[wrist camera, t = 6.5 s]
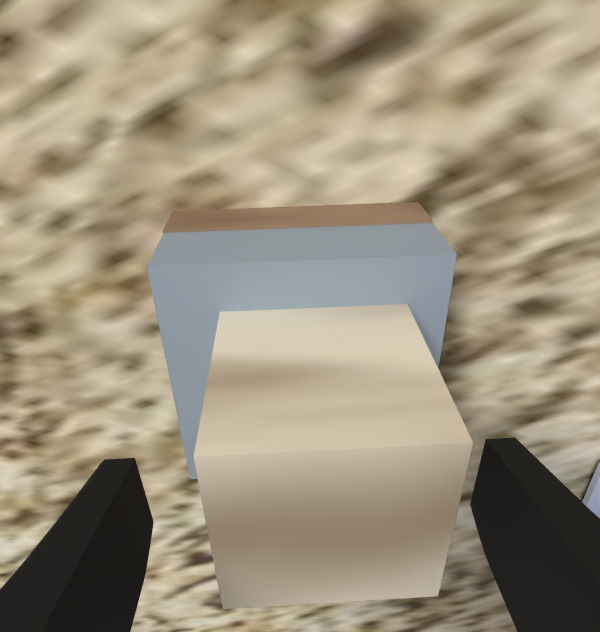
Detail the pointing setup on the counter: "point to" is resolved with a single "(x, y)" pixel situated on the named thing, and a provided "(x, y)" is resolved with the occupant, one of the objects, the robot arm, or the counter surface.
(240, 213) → the walnut slab
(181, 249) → the slate slab
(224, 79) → the counter surface
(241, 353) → the birch block
